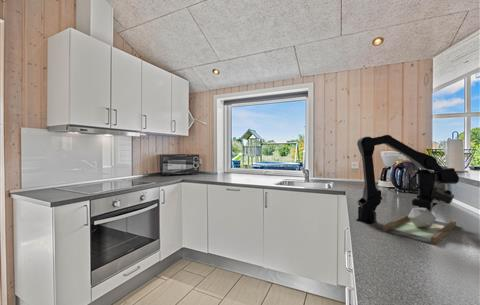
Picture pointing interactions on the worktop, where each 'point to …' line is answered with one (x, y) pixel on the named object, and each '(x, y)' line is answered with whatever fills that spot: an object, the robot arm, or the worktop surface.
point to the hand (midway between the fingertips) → (427, 219)
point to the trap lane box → (419, 230)
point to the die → (421, 217)
